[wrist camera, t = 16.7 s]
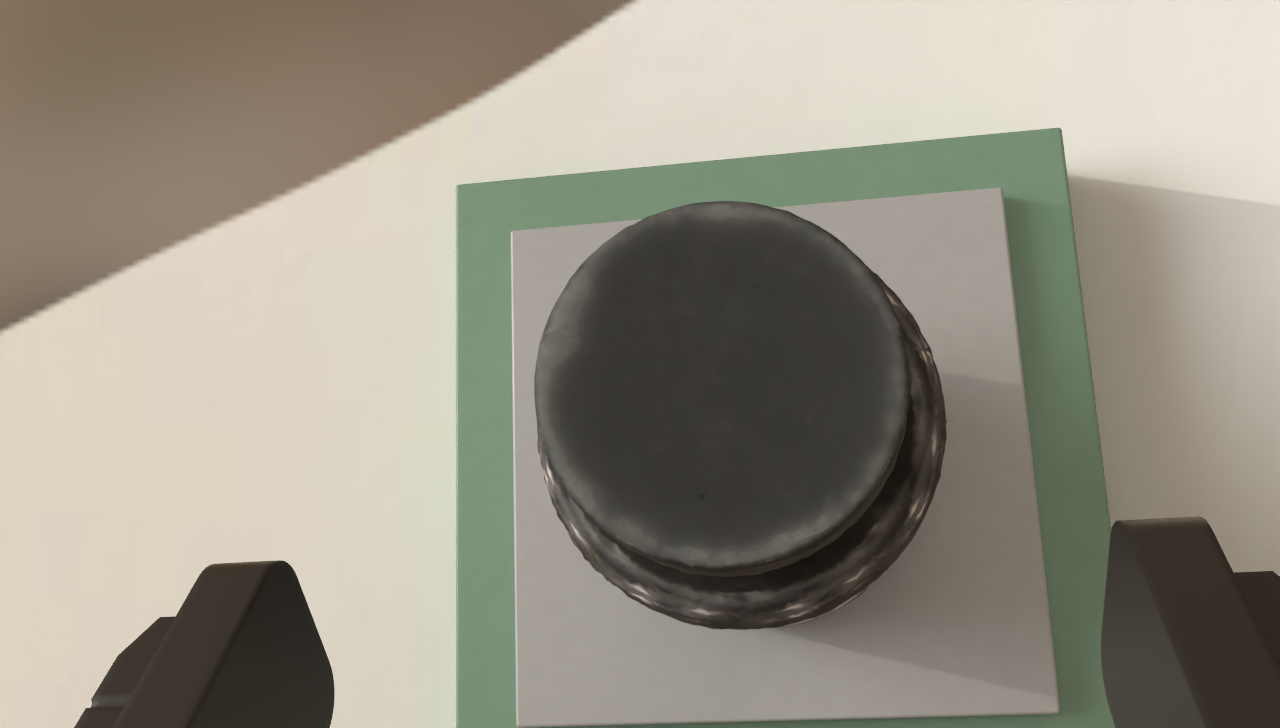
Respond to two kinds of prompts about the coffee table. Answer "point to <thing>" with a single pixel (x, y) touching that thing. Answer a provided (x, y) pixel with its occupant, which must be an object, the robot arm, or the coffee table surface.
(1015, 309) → the kitchen scale
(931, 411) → the pill bottle
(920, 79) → the coffee table surface
